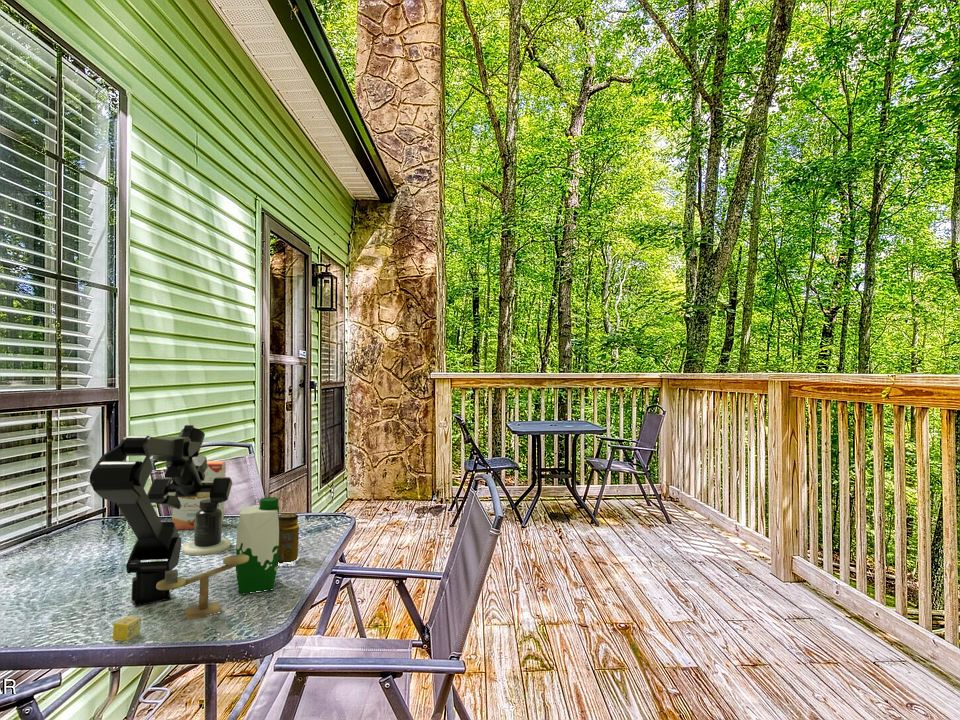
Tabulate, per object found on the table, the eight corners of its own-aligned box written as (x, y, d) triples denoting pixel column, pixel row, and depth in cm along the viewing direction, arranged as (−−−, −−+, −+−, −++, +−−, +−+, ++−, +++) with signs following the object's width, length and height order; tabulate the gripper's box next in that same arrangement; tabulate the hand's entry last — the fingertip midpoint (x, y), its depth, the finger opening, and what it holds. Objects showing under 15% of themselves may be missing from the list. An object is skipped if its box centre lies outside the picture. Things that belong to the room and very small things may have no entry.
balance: (244, 599, 113) (246, 552, 113) (249, 607, 108) (251, 559, 109) (153, 618, 103) (155, 567, 103) (155, 628, 99) (157, 575, 99)
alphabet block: (140, 633, 97) (141, 616, 97) (126, 641, 94) (127, 624, 94) (126, 632, 97) (126, 615, 97) (112, 640, 94) (112, 623, 94)
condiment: (303, 556, 141) (304, 512, 141) (292, 567, 132) (294, 520, 133) (275, 556, 140) (277, 511, 141) (263, 567, 132) (265, 520, 132)
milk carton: (277, 591, 117) (280, 502, 118) (233, 597, 113) (236, 505, 114) (277, 578, 125) (280, 494, 126) (235, 582, 121) (239, 497, 122)
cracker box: (170, 530, 162) (173, 463, 163) (177, 525, 168) (180, 461, 169) (219, 528, 166) (221, 462, 167) (224, 523, 172) (226, 460, 172)
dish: (226, 539, 154) (226, 534, 155) (234, 550, 145) (234, 545, 145) (180, 546, 147) (180, 541, 148) (185, 558, 138) (185, 552, 138)
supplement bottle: (209, 538, 151) (211, 497, 151) (226, 541, 148) (228, 499, 148) (188, 545, 144) (190, 501, 145) (205, 548, 142) (207, 504, 142)
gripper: (231, 447, 136) (241, 481, 146) (154, 447, 133) (170, 482, 143) (220, 483, 128) (232, 516, 138) (138, 484, 125) (156, 518, 135)
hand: (198, 507), depth 139 cm, fingers open, 9 cm apart
